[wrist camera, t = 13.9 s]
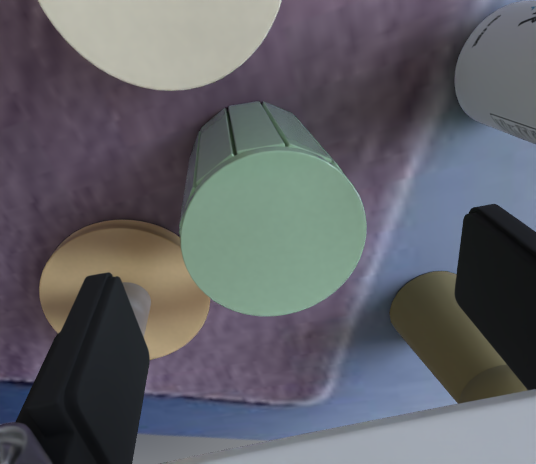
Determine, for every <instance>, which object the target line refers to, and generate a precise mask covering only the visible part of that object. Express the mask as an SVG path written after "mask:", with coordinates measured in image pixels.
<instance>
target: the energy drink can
mask: <svg viewBox="0 0 536 464" xmlns="http://www.w3.org/2000/svg"><path fill="white" fill-rule="evenodd" d="M455 90H456V96H457V98H458V101H459V104H460V106H461V107H462V109H463V110H464V112H465V113H466V114H467V115H468V116H470V117H471V118H472V119H474V120H476V121H478V122H480V123H482V124H485V125H487V126H490V127H492V128H495V129H498V130H500V131H503V132H505V133H508V134H510V135H513V136H516V137H518V138H521V139H523V140H526V141H529V142H531V143H534V144H536V0H533V1H521V2H516V3H511V4H509V5H506V6H504V7H502V8H500V9H498V10H496V11H495V12H493V13H492V14H490V15H489V16H488V17H487V18H485V19H484V20H483V21H482V22H481V23H480V24H479V25H478V26H477V27H476V29H475V30H474V31H473V32H472V34H471V35H470V36H469V38H468V40H467V41H466V43H465V45H464V46H463V48H462V50H461V53H460V55H459V58H458V61H457V65H456V71H455Z"/></svg>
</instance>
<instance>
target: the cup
mask: <svg viewBox="0 0 536 464" xmlns="http://www.w3.org/2000/svg"><path fill="white" fill-rule="evenodd" d="M37 1H38V2H39V4H40V6H41V8H42V10H43V11H44V13H45V14H46V16H47V17H48V19H49V20H50V22H51V23H52V25H53V26H54V27H55V29H56V30H57V31H58V32H59V33H60V34H61V36H62V37H63V38H64V39H65V40H66V42H67V43H68V44H69V45H70V46H72V47H73V48H74V49H75V50H76V51H77V52H78V53H79V54H80V55H81V56H82V57H84V58H85V59H86V60H88V61H89V62H90V63H91V64H93V65H94V66H95V67H97V68H99V69H100V70H102V71H104V72H105V73H107V74H109V75H110V76H112V77H115V78H117V79H119V80H121V81H124V82H126V83H129V84H132V85H135V86H138V87H142V88H147V89H153V90H161V91H179V90H189V89H193V88H197V87H202V86H205V85H207V84H210V83H214V82H215V81H218V80H219V79H223V78H224V77H225V76H226V75H228V74H230V73H231V72H233V71H234V70H235V69H237V68H238V67H239V66H241V65H242V64H243V63H244V62H245V61H246V60H247V59H248V58H249V57H250V56H251V55H252V54H253V53H254V52H255V51H256V49H257V48H258V47H259V46H261V43H262V42H263V40H264V39H265V38H266V37H267V34H268V32H269V30H270V28H271V27H272V25H273V22H274V20H275V18H276V15H277V13H278V11H279V8H280V5H281V1H282V0H37Z"/></svg>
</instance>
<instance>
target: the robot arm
mask: <svg viewBox="0 0 536 464" xmlns="http://www.w3.org/2000/svg"><path fill="white" fill-rule="evenodd" d="M454 294H455V299H456V301H457V304H458V305H459V306H460V308H461V309H462V310H463V311H464V313H465V314H466V315H467V316H468V317H469V319H470V320H471V321H472V322H473V324H474V325H475V326H476V327H477V328H478V330H479V331H480V332H481V333H482V335H483V336H484V337H485V338H486V339H487V341H488V342H489V343H490V344H491V346H492V347H493V348H494V349H495V351H496V352H497V353H498V354H499V355H500V357H501V358H502V359H503V360H504V362H505V363H506V364H507V365H508V366H509V368H510V369H511V370H512V371H513V373H514V374H515V375H516V376H517V378H518V379H519V380H520V381H521V382H522V384H523V385H524V386H525V387H526V389H527V390H528V391H523V392H517V393H512V394H507V395H502V396H496V397H491V398H486V399H481V400H475V401H470V402H465V403H460V404H454V405H449V406H444V407H439V408H433V409H428V410H423V411H418V412H413V413H408V414H403V415H398V416H393V417H387V418H382V419H377V420H372V421H367V422H362V423H357V424H352V425H347V426H342V427H336V428H331V429H326V430H321V431H316V432H311V433H306V434H301V435H296V436H291V437H286V438H281V439H276V440H271V441H266V442H262V443H257V444H252V445H247V446H242V447H237V448H232V449H227V450H222V451H217V452H212V453H208V454H202V455H197V456H193V457H188V458H183V459H179V460H174V461H170V462H166V463H160V464H536V232H535V231H533V230H532V229H531V228H529V227H528V226H526V225H525V224H524V223H522V222H521V221H519V220H518V219H517V218H515V217H514V216H512V215H511V214H509V213H508V212H507V211H505V210H504V209H502V208H501V207H500V206H498V205H496V204H491V205H485V206H480V207H474V208H472V209H471V210H470V212H469V214H466V215H465V217H464V220H463V228H462V236H461V244H460V252H459V260H458V268H457V275H456V283H455V293H454ZM149 361H150V357H149V350H148V347H147V345H146V342H145V339H144V337H143V334H142V332H141V329H140V327H139V324H138V322H137V319H136V316H135V314H134V311H133V309H132V306H131V304H130V301H129V299H128V296H127V293H126V291H125V288H124V286H123V283H122V281H121V279H120V277H118V276H116V277H113V275H112V274H111V273H110V272H107V273H101V274H96V275H90V276H87V277H86V278H85V280H84V282H83V284H82V286H81V288H80V290H79V293H78V295H77V297H76V299H75V301H74V304H73V306H72V308H71V310H70V312H69V314H68V317H67V319H66V321H65V323H64V325H63V328H62V330H61V332H59V333H58V334H57V335H56V337H55V339H54V341H53V343H52V345H51V347H50V349H49V351H48V354H47V356H46V358H45V360H44V362H43V364H42V366H41V369H40V371H39V373H38V375H37V377H36V379H35V381H34V384H33V386H32V388H31V390H30V392H29V394H28V396H27V399H26V401H25V403H24V405H23V407H22V409H21V411H20V414H19V416H18V418H17V420H16V422H12V423H4V424H2V425H0V464H132V461H133V454H134V449H135V443H136V438H137V432H138V426H139V420H140V414H141V409H142V403H143V397H144V391H145V385H146V380H147V374H148V368H149Z"/></svg>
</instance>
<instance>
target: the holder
mask: <svg viewBox="0 0 536 464" xmlns="http://www.w3.org/2000/svg"><path fill="white" fill-rule="evenodd" d="M107 272H110V273H111V274H112V275H113V277H116V276H118V277H120V279H121V281H122V283H123V286H124V288H125V291H126V293H127V296H128V299H129V301H130V304H131V306H132V309H133V311H134V314H135V316H136V319H137V322H138V324H139V327H140V329H141V332H142V334H143V337H144V339H145V342H146V345H147V347H148V350H149V357H150V360H152V359H156V358H160V357H162V356H165V355H168V354H170V353H172V352H174V351H176V350H178V349H180V348H181V347H183V346H184V345H186V344H187V343H188V342H189V341H191V340H192V339H193V337H194V336H195V335H196V334H197V333H198V332H199V330H200V329H201V328H202V326H203V324H204V322H205V320H206V318H207V315H208V312H209V306H210V297H208V296H207V295H206V294H205V293H204V292H203V291H202V290H201V289H200V288H199V287H198V286H197V285H196V283H195V282H194V281H193V279H192V278H191V276H190V274H189V272H188V271H187V269H186V266H185V263H184V261H183V257H182V252H181V244H180V237H179V236H177V235H176V234H174V233H173V232H171V231H169V230H167V229H165V228H162V227H160V226H157V225H154V224H151V223H147V222H142V221H136V220H110V221H103V222H99V223H95V224H92V225H89V226H86V227H84V228H82V229H80V230H78V231H76V232H74V233H73V234H71V235H70V236H69V237H67V238H66V239H65V240H64V241H63V242H62V243H61V244H60V245H59V246H58V247H57V249H56V250H55V251H54V253H53V254H52V256H51V257H50V259H49V260H48V262H47V263H46V265H45V267H44V269H43V271H42V275H41V278H40V284H39V297H40V302H41V306H42V309H43V312H44V314H45V316H46V318H47V320H48V321H49V323H50V325H51V326H52V327H53V328H54V330H55V331H56V332H57V333H59V332H61V330H62V328H63V325H64V323H65V321H66V319H67V317H68V314H69V312H70V310H71V308H72V306H73V304H74V301H75V299H76V297H77V295H78V293H79V290H80V288H81V286H82V284H83V282H84V280H85V278H86V277H87V276H90V275H96V274H101V273H107Z"/></svg>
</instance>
